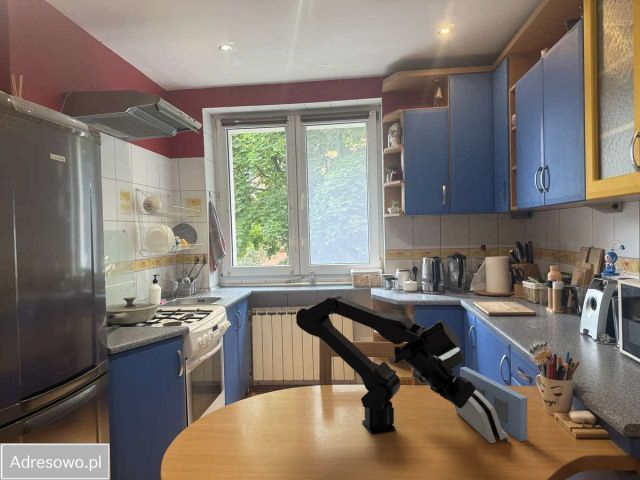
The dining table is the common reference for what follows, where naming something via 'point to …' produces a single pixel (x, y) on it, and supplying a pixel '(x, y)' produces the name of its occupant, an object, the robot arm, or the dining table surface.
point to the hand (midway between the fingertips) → (462, 401)
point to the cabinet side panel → (502, 403)
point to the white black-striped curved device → (482, 417)
